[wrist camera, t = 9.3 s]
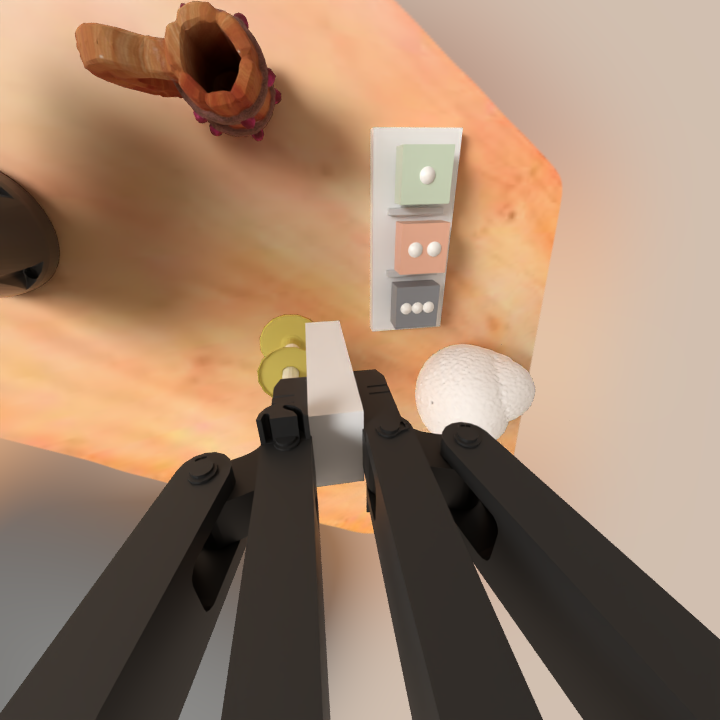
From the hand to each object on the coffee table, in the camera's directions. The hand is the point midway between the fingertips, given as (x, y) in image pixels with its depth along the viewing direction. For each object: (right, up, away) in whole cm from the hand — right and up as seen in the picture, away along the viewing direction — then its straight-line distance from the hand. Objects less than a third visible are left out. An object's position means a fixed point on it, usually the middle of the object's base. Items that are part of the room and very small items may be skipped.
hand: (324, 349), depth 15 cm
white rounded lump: (+18, -2, +44) cm, 47 cm away
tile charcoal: (+9, +8, +33) cm, 35 cm away
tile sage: (+9, +22, +25) cm, 35 cm away
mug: (-14, +29, +21) cm, 39 cm away
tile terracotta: (+9, +15, +28) cm, 33 cm away
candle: (-9, +2, +37) cm, 38 cm away
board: (+8, +17, +32) cm, 37 cm away
